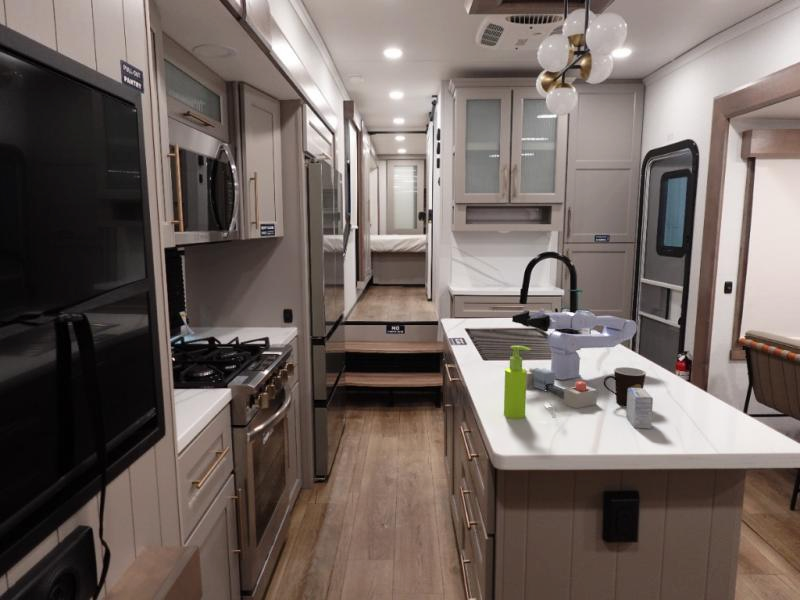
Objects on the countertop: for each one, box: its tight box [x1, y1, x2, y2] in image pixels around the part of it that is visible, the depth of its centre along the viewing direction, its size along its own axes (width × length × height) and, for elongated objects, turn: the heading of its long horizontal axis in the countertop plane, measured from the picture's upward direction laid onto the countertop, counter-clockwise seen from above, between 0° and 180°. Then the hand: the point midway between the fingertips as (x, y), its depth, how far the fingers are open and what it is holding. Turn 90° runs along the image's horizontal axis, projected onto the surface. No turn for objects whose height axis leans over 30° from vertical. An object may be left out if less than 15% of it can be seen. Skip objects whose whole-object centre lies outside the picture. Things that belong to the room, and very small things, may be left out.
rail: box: [545, 384, 565, 399], centre depth 159 cm, size 2×17×2 cm, turn 25°
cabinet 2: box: [563, 385, 598, 409], centre depth 149 cm, size 8×5×4 cm, turn 115°
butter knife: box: [545, 406, 558, 419], centre depth 138 cm, size 1×24×3 cm
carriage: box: [532, 367, 556, 391], centre depth 164 cm, size 4×5×6 cm
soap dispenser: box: [503, 344, 532, 420], centre depth 139 cm, size 6×7×20 cm
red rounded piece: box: [575, 380, 587, 392], centre depth 149 cm, size 3×3×4 cm
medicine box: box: [625, 388, 654, 430], centre depth 134 cm, size 8×4×9 cm, turn 170°
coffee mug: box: [603, 366, 647, 407], centre depth 150 cm, size 12×9×10 cm
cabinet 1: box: [526, 366, 540, 388], centre depth 168 cm, size 8×3×6 cm, turn 115°
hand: (520, 320), depth 166 cm, fingers open, 7 cm apart
